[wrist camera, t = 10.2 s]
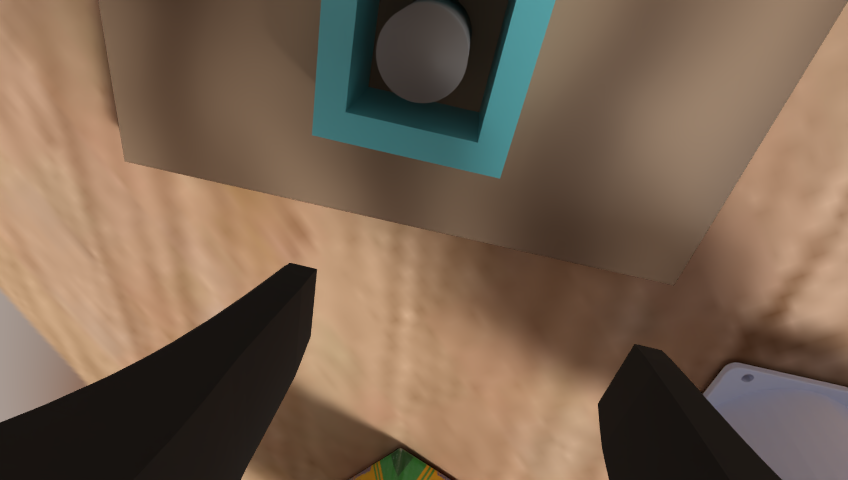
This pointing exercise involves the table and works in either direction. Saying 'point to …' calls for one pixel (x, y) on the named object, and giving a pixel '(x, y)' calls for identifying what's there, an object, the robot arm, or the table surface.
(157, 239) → the table surface
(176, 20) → the post board
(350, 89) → the collar
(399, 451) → the chalk box
